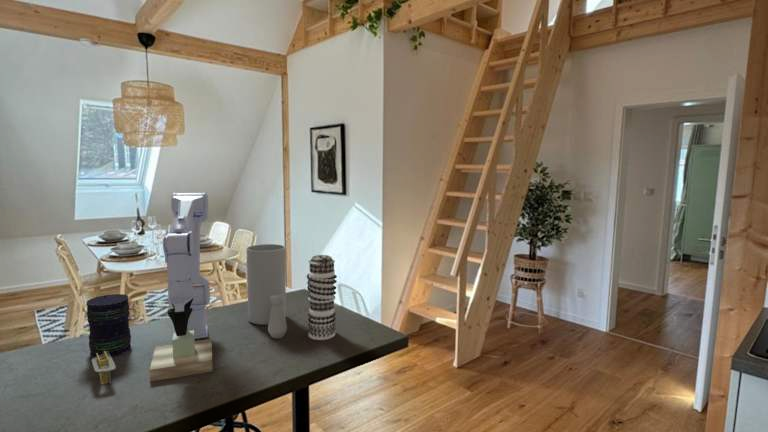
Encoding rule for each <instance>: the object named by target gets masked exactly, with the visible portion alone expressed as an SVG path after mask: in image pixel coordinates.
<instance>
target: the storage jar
mask: <svg viewBox="0 0 768 432" xmlns="http://www.w3.org/2000/svg"><path fill="white" fill-rule="evenodd" d="M129 302H130V301H129V296H128V295H127V294H123V293H119V294H118V293H116V294H115V293H114V294H113V293H112V294H106V295H104V294H103V295H99V296H96V297H92V298H90V299H88V300H87V301H86V306H87V307H86V316H87V323H88V330H89V336H88V346H89V356H90V357H91V358H92V359H93V358H95V357H97V354H98V356H99V355H101V354H104V351H105V352H106V353H110V355H111V357H112V358H116V357H118V356H122V355H124V354H126V353H128V352H129V351H131V349H132V344H131V339H132V334H131V329H130V324H129V323H130V322H129V319H130V318H129V317H130V303H129Z"/></svg>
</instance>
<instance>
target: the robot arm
mask: <svg viewBox="0 0 768 432" xmlns="http://www.w3.org/2000/svg"><path fill="white" fill-rule="evenodd" d="M208 196H209V195H208V193H207V192H173V193H172V194H171V197H170V198H171V199H170V202H171V203H170V204H171V205H170V206H171V211H172V213H173V216H174V219H172V220H171V223H170V224H171V225H170V227H169V232H168V233H167V235H164V236H163V240H162V248H163V255H164V262H165V264H166V270H167V271H166V273H167V275H166V277H167V294H168V296H167V301H168V302H169V303H170V304H171V306H172V307H173V308H168V309H167V310H166V311H167V316H169V318H170V320H171V322H172V324H173V328H174V333H176V335H177V336H183V335H186V332H187V331H191V330H194V337H195V340H198V339H204V338H207V337H208V335H209V334H208V325H207V320H206V319H207V318H206V306H208V305H209V304H210V301H211V289H210V281H209V279H208V278H206V277H204V276H203V275H202V274H201V272H200V271H201V269H200V267H201V258H200V257H201V241H200V240H201V227H202V223H203V222H205V221H207V220H208V217H209V197H208Z"/></svg>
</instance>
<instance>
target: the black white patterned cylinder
mask: <svg viewBox="0 0 768 432" xmlns="http://www.w3.org/2000/svg"><path fill="white" fill-rule="evenodd" d="M335 262H336V260H335V259H333V257H332V256H330V255H327V254H317V255H316V254H315V255H314V256H312V257H311V259H310V260H308V263H309V271H308V273H307V275H306V279H307V282H306V284H307V287H306V288H307V291H308V292H307V296H308V298H307V300H308V301H309V307H308V314H307V317H308V319H307V320H308V323H307V327H308V329H307V331H308V335H307V336H308V338H309V339H312V340H316V341H325V340H330V339H332V338H334V337H335V336H336V322H335V321H336V315H337V314H336V312H335V305H334V304H335V300H336V294H337V292H336V289H337V286H335V284H337V282H338V281H337V280H336V279H337V277H338V275H336V274H335Z"/></svg>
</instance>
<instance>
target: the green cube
mask: <svg viewBox="0 0 768 432" xmlns="http://www.w3.org/2000/svg"><path fill="white" fill-rule="evenodd" d="M172 333H173V335H172V339H171V341H172V344H171V345H173V359H175V358H181V357H188V356H195V340H196V339H195V337H194V330H191V331H187V332H186V335H183V336H177V335H176V332H172Z"/></svg>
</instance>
